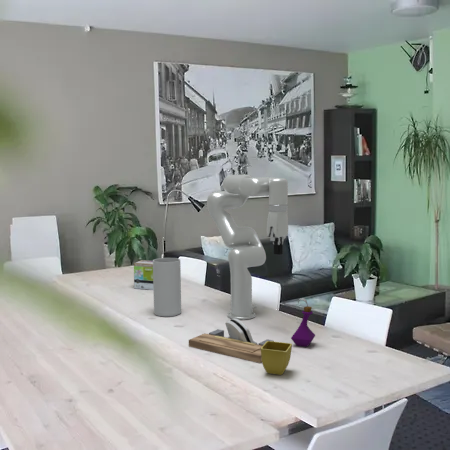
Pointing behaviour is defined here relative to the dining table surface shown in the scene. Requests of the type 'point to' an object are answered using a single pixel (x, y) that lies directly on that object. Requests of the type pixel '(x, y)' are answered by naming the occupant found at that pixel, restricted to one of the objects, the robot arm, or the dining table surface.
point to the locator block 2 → (264, 342)
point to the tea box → (143, 275)
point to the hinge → (239, 331)
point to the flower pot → (275, 356)
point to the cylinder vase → (167, 286)
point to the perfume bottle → (304, 329)
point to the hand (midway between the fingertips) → (278, 253)
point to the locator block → (217, 333)
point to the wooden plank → (227, 347)
